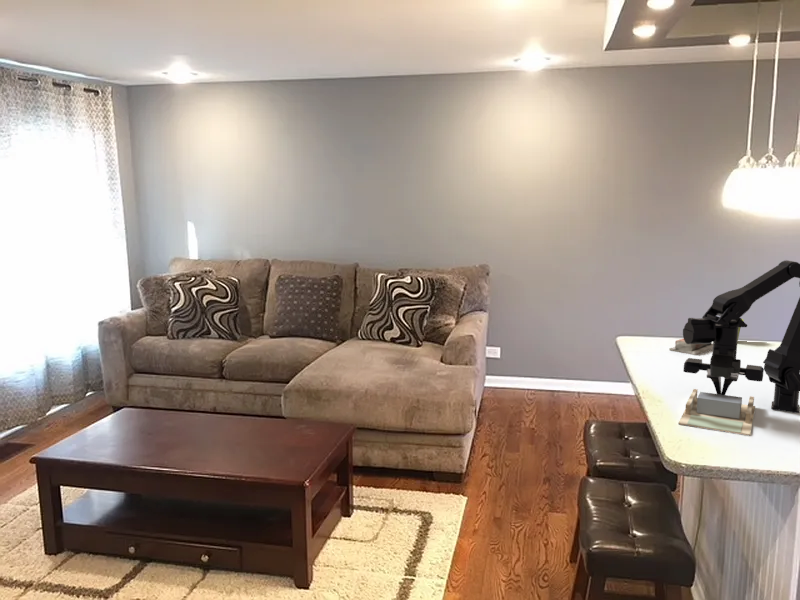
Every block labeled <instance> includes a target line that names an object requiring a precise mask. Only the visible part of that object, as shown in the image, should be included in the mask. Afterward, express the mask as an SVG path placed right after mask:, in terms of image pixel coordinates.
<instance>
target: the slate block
mask: <svg viewBox="0 0 800 600" xmlns="http://www.w3.org/2000/svg"><path fill="white" fill-rule="evenodd" d="M697 398H698V399H697V413H702V414H709V415H716V416H723V417H730V418H736V419H739V418H740V414H741V405H742V404H743V397H741V396H735V395H726V394H725V395H721V394H717V393H713V392H712V393H711V392H705V391H700V392H699V394H698V395H697Z"/></svg>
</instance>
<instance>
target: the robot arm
mask: <svg viewBox="0 0 800 600" xmlns="http://www.w3.org/2000/svg"><path fill="white" fill-rule="evenodd" d="M793 278H794V279H795V278H797V279H800V263H799V262H797V261H793V260H787V259H785V260H783V261H781V262H779V263H778V265H776V266H775V267H773V268H771V269H770V270H768V271H767V272H765V273H763V274H762V275H760V276H758V277H757V278H755V279H754V280H752V281H750V282H749V283H747V284H746V285H744V286H742V287H740V288H737V289H732V290H729V291H726V292H724V293H720V294H718V295H717V296H715V297H714V298H713V299H712V303H711V306H710V307H709V308H708V309H707V311H706V312H705V313H704V314H703V316H702V318H695V317H688V318H687V322H686V323H685V324H684V327H683V329H682V336H683V338H684V341H685V342H686V343H687V344H710V343H712V344H713V350H711V351H712V353H711V357H710V362H709V363H703V359H701V358H691V357H689V358H687V359H686V360H685V361H684V363H683V364H684V365H683V373H687V374H697V373H699V372H700V371H704V372H705V371H706V373H707V374H706V378H707V379H710V381H712V383H713V385H714V388H715V391H716V394H721V395H726V393H727V391H728V389H729V387H730V385H731V384H732V383H733V382H737V381H738V380H739V376H744V377H745V378H746V379H747V380H748V381H753V382H763V379H764V373H765V375H767V376H768V379H769V382H770V383H773V384H774V391H773V393H774V394H773V395H774V396H773V401H771V407H770V410H775V411H780V412H781V411H783V412H788V413H794V414H795V413H796V414H799V413H800V404H799V398H800V297H799V298H798V300H797V303H796V306H795V308H794V310H793V313H792V316H791V318H790V320H789V324H788V325H787V328H786V330H785V332H784V333H785V334H784V336H783V338H782V341H781V343H780V345H778V347H776V348H775V350H774V349H771V348H769V349H768V350H767V354H766V357H765V359H764V361H763V362H762V363H763V364H764V366H761V365H755V364H754V365H753V364H747V365H746V367H741V359H738V358H737V353H738V342H739V337H738V328H739V327H741V328H747V327H748V324H747V323H746V322H744V321H743V320H744V319H743V318H741V317H742V316H744V315H745V314H746V313H747V312H748V311H749V310H750V309H751V307H752V306H753V304H754V303H755V302H756V301H757V300H759V299H761V298H762V297H764V296H766V295H767V294H769V293H771V292H772V291H774V290H775V289H778V288H779V287H780V286H782V285H784V284H785V283H786V282H788V281H790V280H792V279H793ZM798 285H799V286H800V281H799V284H798ZM742 319H743V320H742ZM683 338H682V339H683ZM737 341H738V342H737ZM722 378H724V380H723V386H722Z"/></svg>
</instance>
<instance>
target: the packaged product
mask: <svg viewBox="0 0 800 600" xmlns="http://www.w3.org/2000/svg"><path fill="white" fill-rule="evenodd" d="M669 351H671V352H674V353H681V354H685V355H690V356H691V355H692V356H698V355H700V354H703V353H706V352H710V351H713V342H712V343H710V344H687V343H686V342H685V341H684V338H681V339H677V340H675V343H674V346H672V347H670V348H669Z"/></svg>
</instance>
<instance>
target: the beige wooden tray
mask: <svg viewBox="0 0 800 600" xmlns="http://www.w3.org/2000/svg"><path fill="white" fill-rule="evenodd" d="M698 390H699V389H697V388H693V389H692V391H691V394H690V395H689V398H688V399H687V402H686V403H685V409H684V411H683V413H682V415H681V417H680V420H678V424H680V426H685V425H688V426H687V427H691V426H694V427H693V428H697V427H699V428H698V429H704V428H707V429H706V430H710V429H713V430H712V431H717V430H719V431H718V432H723V431H725V432H724V433H729V432H731V434H737V435H742V434H743V435H744V436H748V435H749V436H751V433H752V432H751V431H752V428H753V421H754V417H755V411H756V405H754V402H755V397H754V396H752V395H750V396H749V399H748V403H747V404H744V403H742V405H741V414H740V418H739V419H736V418H730V417H723V416H716V415H709V414H702V413H697V399H698V393H699V391H698ZM749 436H748V437H749Z"/></svg>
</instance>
